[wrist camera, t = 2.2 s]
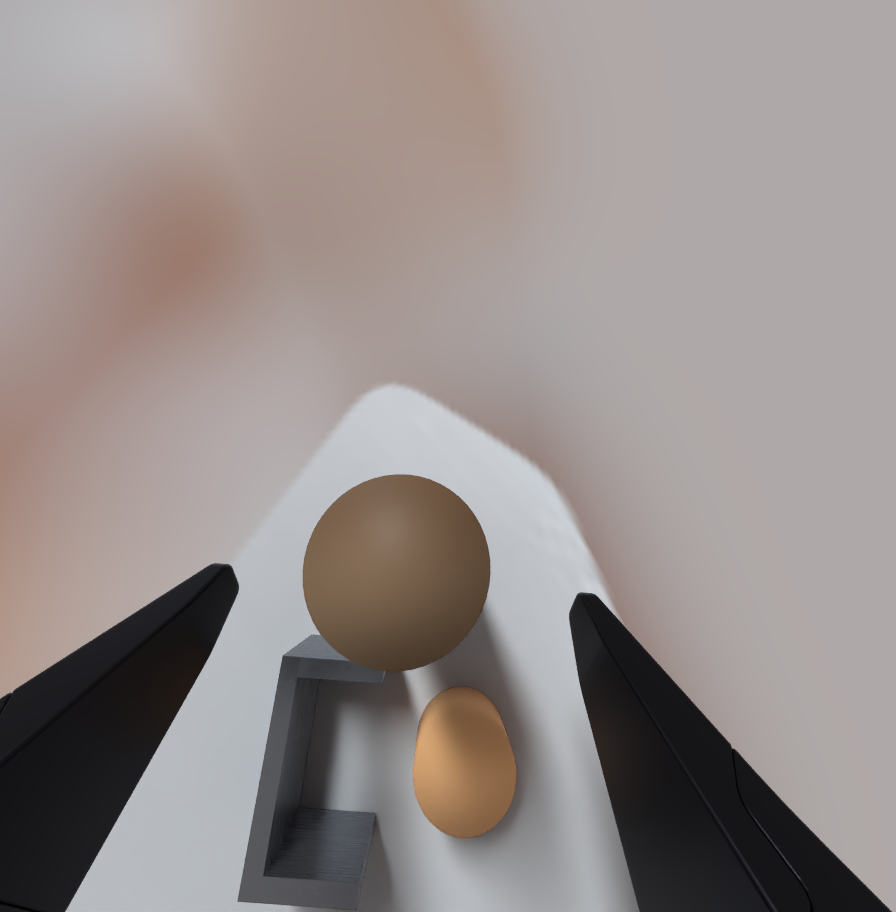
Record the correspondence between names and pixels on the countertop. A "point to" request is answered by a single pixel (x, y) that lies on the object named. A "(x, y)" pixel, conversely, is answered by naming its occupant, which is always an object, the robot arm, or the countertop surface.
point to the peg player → (396, 573)
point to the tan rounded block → (463, 763)
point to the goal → (277, 805)
